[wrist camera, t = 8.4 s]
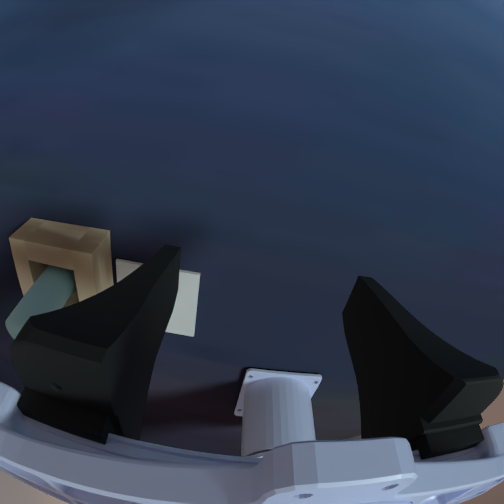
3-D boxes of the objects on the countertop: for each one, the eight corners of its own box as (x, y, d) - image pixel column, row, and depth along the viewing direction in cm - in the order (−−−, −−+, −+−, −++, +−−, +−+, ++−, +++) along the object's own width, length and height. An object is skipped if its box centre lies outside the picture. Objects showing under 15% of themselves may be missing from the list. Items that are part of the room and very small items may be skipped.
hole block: (123, 361, 31) (114, 386, 28) (60, 344, 31) (49, 367, 28) (109, 230, 23) (91, 254, 20) (31, 217, 23) (8, 237, 20)
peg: (90, 260, 25) (41, 334, 17) (81, 283, 26) (37, 355, 18) (62, 242, 24) (6, 310, 16) (55, 266, 25) (5, 333, 17)
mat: (194, 334, 29) (193, 336, 28) (122, 320, 28) (121, 322, 28) (200, 273, 25) (199, 275, 25) (116, 258, 24) (115, 260, 24)
